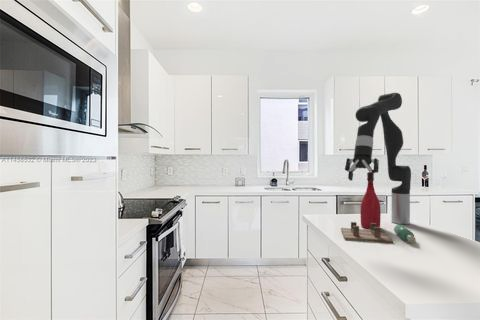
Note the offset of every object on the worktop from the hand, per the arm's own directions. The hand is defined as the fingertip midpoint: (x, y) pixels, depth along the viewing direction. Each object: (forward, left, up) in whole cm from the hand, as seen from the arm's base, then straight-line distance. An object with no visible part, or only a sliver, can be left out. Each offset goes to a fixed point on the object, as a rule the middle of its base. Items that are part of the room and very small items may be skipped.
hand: (359, 180), depth 125 cm
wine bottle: (-27, +9, -27) cm, 39 cm away
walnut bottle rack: (-7, +3, -27) cm, 28 cm away
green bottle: (-6, +20, -27) cm, 35 cm away
